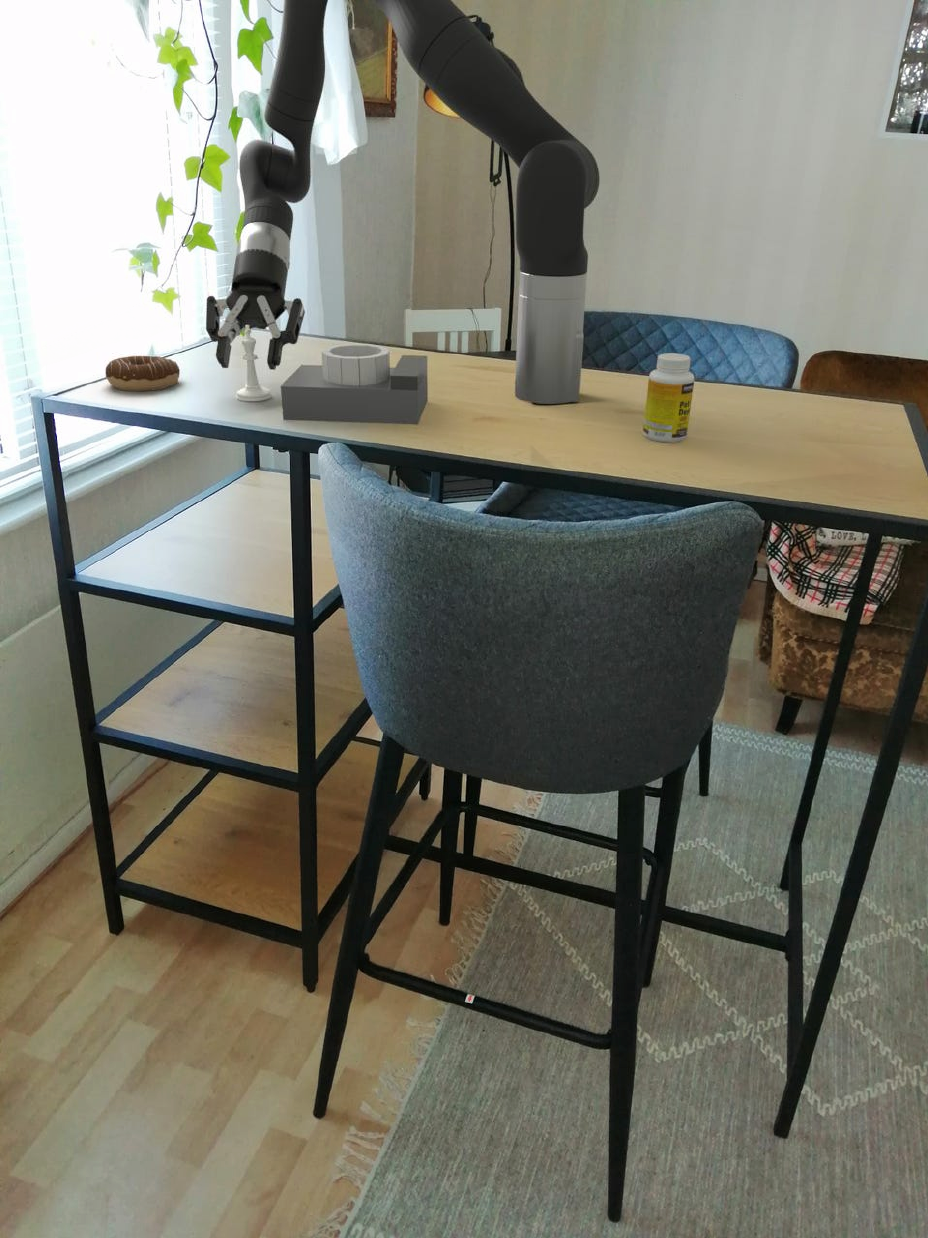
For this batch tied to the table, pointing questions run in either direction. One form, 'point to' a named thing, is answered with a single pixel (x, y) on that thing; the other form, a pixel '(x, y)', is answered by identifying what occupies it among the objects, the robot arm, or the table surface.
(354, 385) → the camera body
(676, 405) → the supplement bottle
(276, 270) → the robot arm
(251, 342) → the chess piece
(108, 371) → the donut
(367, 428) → the table surface
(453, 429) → the table surface
